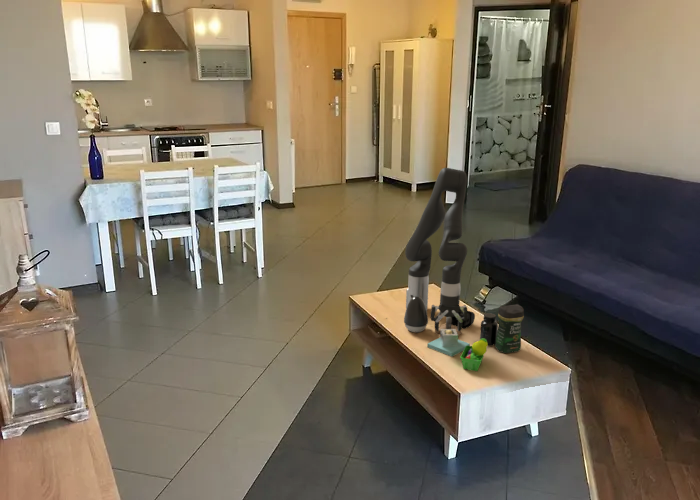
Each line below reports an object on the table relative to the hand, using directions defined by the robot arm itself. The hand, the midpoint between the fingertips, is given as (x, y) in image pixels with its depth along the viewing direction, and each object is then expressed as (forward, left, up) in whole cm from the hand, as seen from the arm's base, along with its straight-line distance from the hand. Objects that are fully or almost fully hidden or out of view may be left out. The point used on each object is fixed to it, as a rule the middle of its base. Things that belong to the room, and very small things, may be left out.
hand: (447, 330), depth 231 cm
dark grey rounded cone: (-19, +4, -8) cm, 21 cm away
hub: (+1, 0, -7) cm, 7 cm away
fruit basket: (+17, -6, -8) cm, 19 cm away
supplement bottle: (+10, +15, -8) cm, 19 cm away
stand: (-7, +11, -7) cm, 15 cm away
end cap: (-9, +23, -8) cm, 26 cm away
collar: (+1, 0, -6) cm, 6 cm away
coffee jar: (+19, +15, -8) cm, 25 cm away
